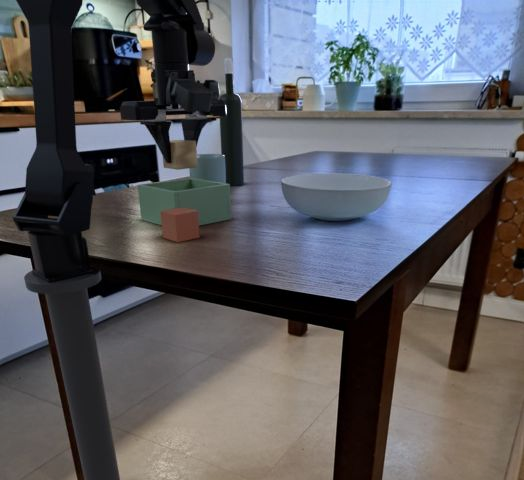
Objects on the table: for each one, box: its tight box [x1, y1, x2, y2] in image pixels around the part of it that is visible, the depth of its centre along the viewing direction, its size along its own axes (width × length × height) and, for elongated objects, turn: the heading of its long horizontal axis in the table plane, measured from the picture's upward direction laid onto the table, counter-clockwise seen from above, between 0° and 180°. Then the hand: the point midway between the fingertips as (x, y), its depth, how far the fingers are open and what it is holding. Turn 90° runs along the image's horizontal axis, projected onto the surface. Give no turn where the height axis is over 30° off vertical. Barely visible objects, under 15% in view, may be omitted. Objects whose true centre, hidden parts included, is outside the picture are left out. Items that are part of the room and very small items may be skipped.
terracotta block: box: [160, 207, 201, 243], centre depth 87 cm, size 4×4×4 cm
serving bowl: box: [280, 172, 393, 222], centre depth 100 cm, size 21×21×7 cm
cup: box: [188, 153, 226, 183], centre depth 115 cm, size 8×8×10 cm
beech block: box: [162, 139, 198, 171], centre depth 93 cm, size 4×4×4 cm
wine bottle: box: [219, 57, 245, 187], centre depth 134 cm, size 6×6×30 cm
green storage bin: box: [136, 177, 232, 227], centre depth 100 cm, size 13×13×7 cm
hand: (179, 161), depth 94 cm, fingers closed on beech block, 4 cm apart
